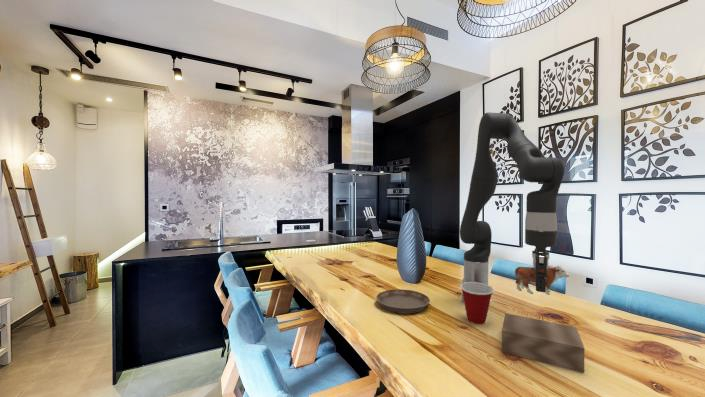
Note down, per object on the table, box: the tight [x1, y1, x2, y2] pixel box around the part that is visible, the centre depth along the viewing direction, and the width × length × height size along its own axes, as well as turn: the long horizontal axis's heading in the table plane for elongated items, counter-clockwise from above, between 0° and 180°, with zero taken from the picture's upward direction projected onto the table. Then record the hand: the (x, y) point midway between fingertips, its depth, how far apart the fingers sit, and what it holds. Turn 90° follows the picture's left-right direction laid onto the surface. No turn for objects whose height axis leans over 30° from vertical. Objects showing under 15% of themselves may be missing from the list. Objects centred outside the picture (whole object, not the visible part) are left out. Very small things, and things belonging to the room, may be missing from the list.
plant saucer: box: [375, 288, 431, 314], centre depth 114 cm, size 21×21×3 cm
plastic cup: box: [459, 282, 495, 325], centre depth 100 cm, size 11×11×12 cm
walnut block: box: [501, 313, 586, 374], centre depth 81 cm, size 18×14×6 cm
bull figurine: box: [514, 264, 570, 296], centre depth 81 cm, size 4×13×8 cm, turn 78°
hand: (540, 288), depth 81 cm, fingers closed on bull figurine, 5 cm apart
